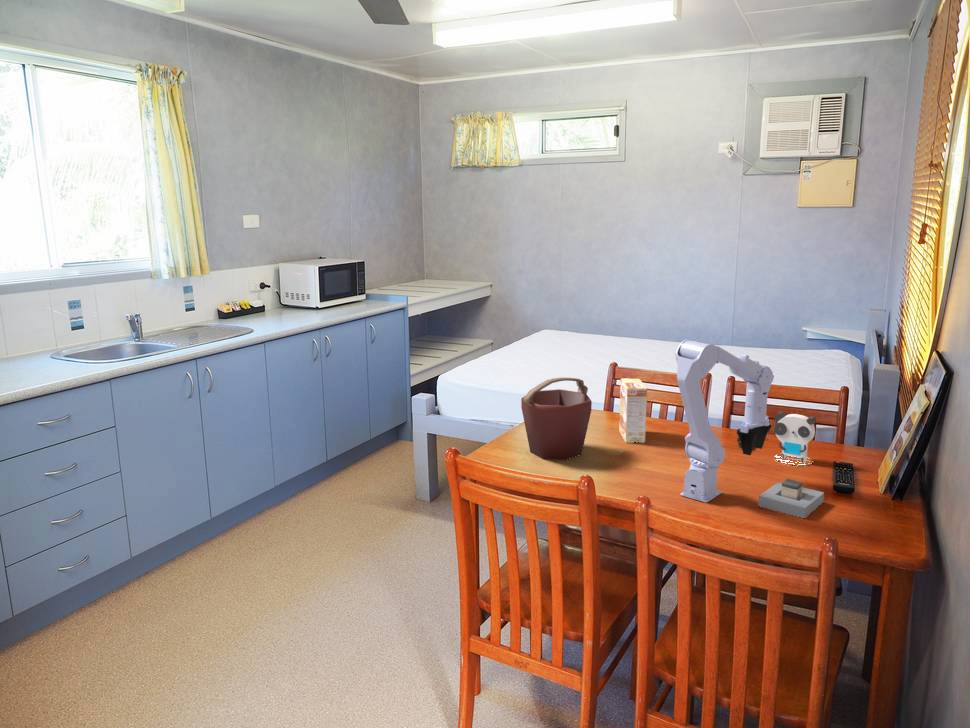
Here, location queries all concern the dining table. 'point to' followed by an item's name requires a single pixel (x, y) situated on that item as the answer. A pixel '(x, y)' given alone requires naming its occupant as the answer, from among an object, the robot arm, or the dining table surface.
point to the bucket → (556, 420)
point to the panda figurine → (794, 436)
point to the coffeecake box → (633, 410)
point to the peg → (792, 489)
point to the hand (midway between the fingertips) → (752, 451)
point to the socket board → (791, 501)
